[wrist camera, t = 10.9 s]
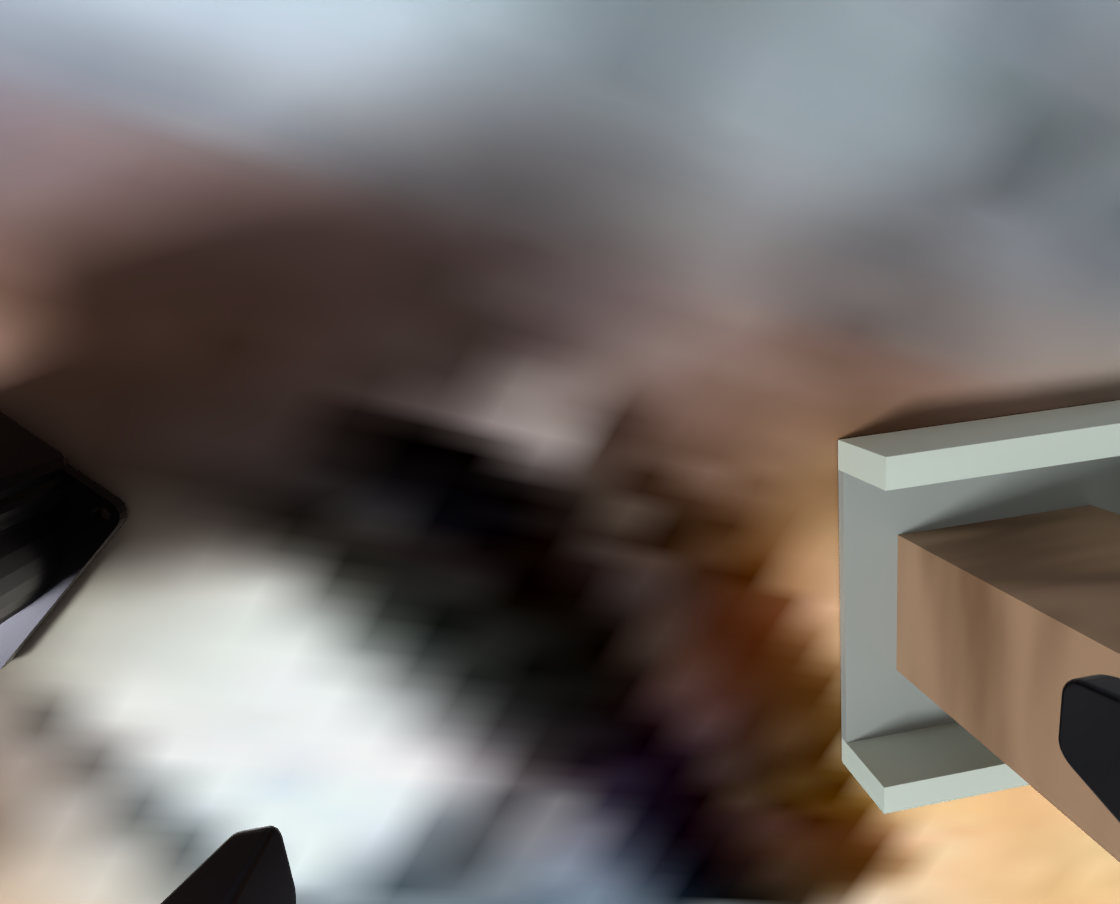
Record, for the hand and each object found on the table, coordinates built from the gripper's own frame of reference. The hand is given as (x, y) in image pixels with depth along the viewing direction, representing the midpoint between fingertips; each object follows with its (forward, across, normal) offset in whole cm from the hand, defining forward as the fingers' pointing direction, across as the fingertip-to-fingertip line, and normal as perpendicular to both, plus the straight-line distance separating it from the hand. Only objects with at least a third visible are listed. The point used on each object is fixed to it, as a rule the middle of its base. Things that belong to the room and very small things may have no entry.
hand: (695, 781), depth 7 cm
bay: (+13, -15, +6) cm, 20 cm away
